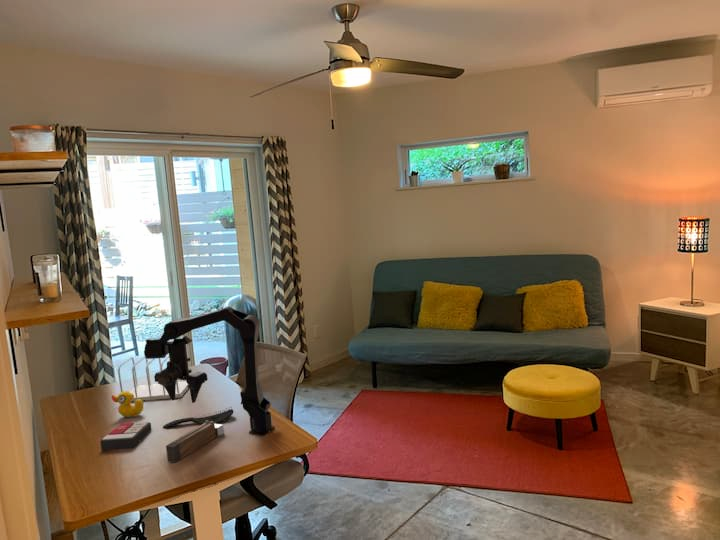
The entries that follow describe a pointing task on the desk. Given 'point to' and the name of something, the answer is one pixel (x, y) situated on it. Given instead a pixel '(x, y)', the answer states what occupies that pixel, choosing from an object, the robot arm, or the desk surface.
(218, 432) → the tong hinge block
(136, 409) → the duckling
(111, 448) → the calculator
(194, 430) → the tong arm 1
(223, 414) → the hairbrush
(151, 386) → the file sorter
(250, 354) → the robot arm
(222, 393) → the desk surface
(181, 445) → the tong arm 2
